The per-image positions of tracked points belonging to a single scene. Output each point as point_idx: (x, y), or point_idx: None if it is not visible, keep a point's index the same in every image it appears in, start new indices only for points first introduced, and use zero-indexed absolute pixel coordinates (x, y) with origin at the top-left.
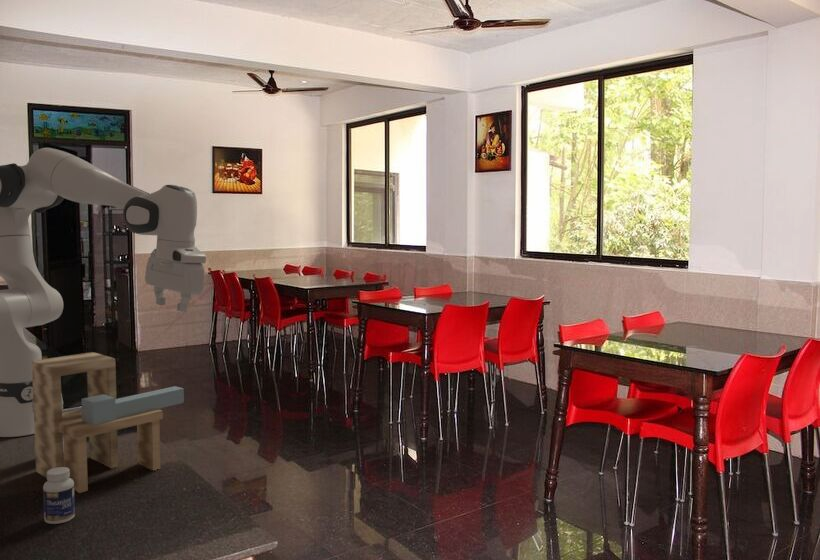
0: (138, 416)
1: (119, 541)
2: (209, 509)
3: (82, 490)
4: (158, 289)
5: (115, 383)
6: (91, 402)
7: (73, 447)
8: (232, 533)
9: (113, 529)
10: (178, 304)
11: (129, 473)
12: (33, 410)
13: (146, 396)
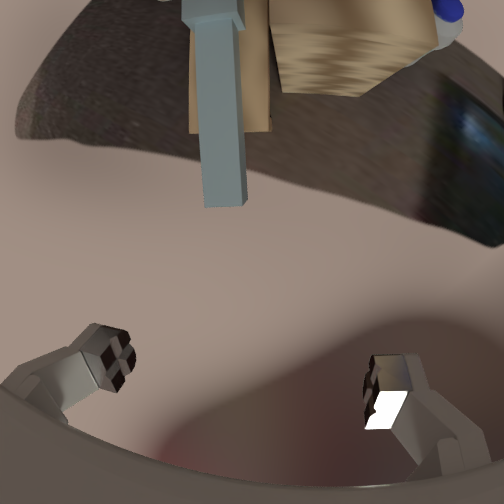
0: (189, 78)
1: (82, 29)
2: (75, 121)
3: None
4: (430, 460)
5: (275, 49)
6: None
7: None
8: (33, 118)
9: (104, 28)
10: (93, 349)
11: None
12: None
13: (200, 101)
